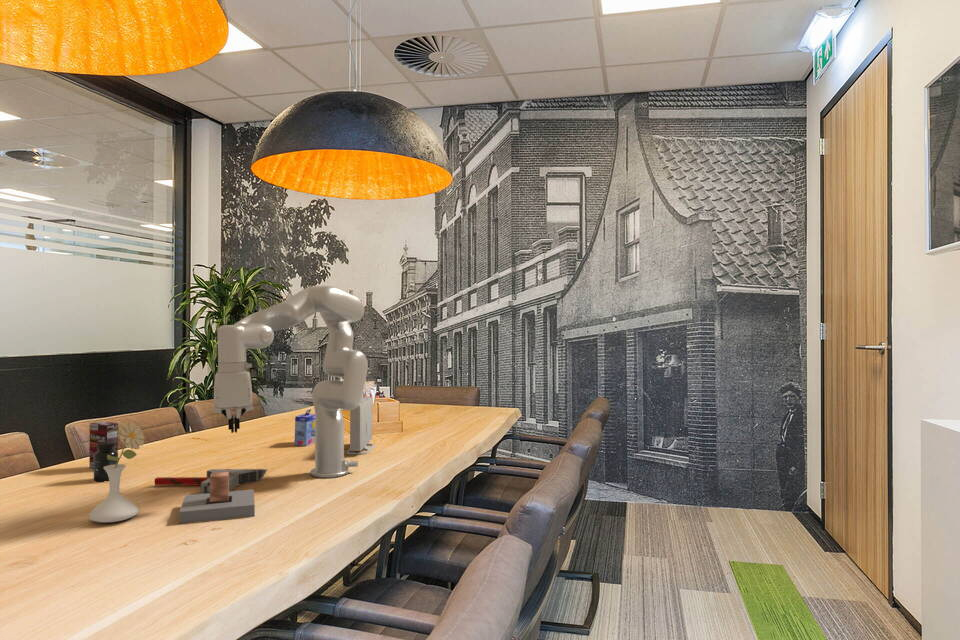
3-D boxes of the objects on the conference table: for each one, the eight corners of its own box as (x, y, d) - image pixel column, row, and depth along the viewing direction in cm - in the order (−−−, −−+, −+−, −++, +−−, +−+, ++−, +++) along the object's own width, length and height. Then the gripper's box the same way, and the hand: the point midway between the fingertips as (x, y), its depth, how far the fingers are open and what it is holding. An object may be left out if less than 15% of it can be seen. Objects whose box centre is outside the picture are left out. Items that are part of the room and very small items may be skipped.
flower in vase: (102, 529, 154) (103, 428, 154) (79, 521, 160) (80, 424, 160) (154, 515, 165) (154, 421, 165) (130, 508, 171) (131, 417, 171)
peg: (228, 507, 172) (228, 471, 172) (228, 512, 168) (228, 475, 168) (210, 509, 170) (210, 473, 170) (209, 514, 166) (209, 477, 166)
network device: (365, 456, 238) (365, 404, 238) (342, 456, 238) (343, 404, 238) (377, 443, 263) (377, 396, 263) (356, 443, 263) (357, 396, 263)
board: (253, 499, 180) (253, 489, 180) (254, 516, 165) (254, 504, 165) (185, 506, 173) (185, 495, 173) (179, 523, 158) (179, 511, 158)
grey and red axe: (177, 464, 209) (267, 464, 210) (177, 475, 209) (267, 475, 210) (140, 482, 185) (242, 482, 186) (140, 495, 185) (242, 495, 186)
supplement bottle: (88, 480, 200) (89, 443, 200) (110, 476, 206) (110, 440, 206) (101, 483, 197) (101, 445, 197) (122, 478, 203) (123, 442, 203)
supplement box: (88, 468, 216) (88, 423, 216) (101, 465, 220) (101, 421, 220) (105, 471, 213) (106, 424, 213) (118, 468, 217) (118, 422, 217)
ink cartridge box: (306, 446, 256) (306, 411, 256) (293, 446, 257) (294, 411, 257) (316, 442, 266) (316, 408, 266) (304, 441, 266) (304, 407, 266)
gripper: (259, 365, 184) (261, 427, 184) (204, 368, 178) (206, 431, 179) (260, 368, 177) (262, 432, 177) (203, 370, 171) (205, 436, 172)
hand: (234, 431), depth 178 cm, fingers closed
